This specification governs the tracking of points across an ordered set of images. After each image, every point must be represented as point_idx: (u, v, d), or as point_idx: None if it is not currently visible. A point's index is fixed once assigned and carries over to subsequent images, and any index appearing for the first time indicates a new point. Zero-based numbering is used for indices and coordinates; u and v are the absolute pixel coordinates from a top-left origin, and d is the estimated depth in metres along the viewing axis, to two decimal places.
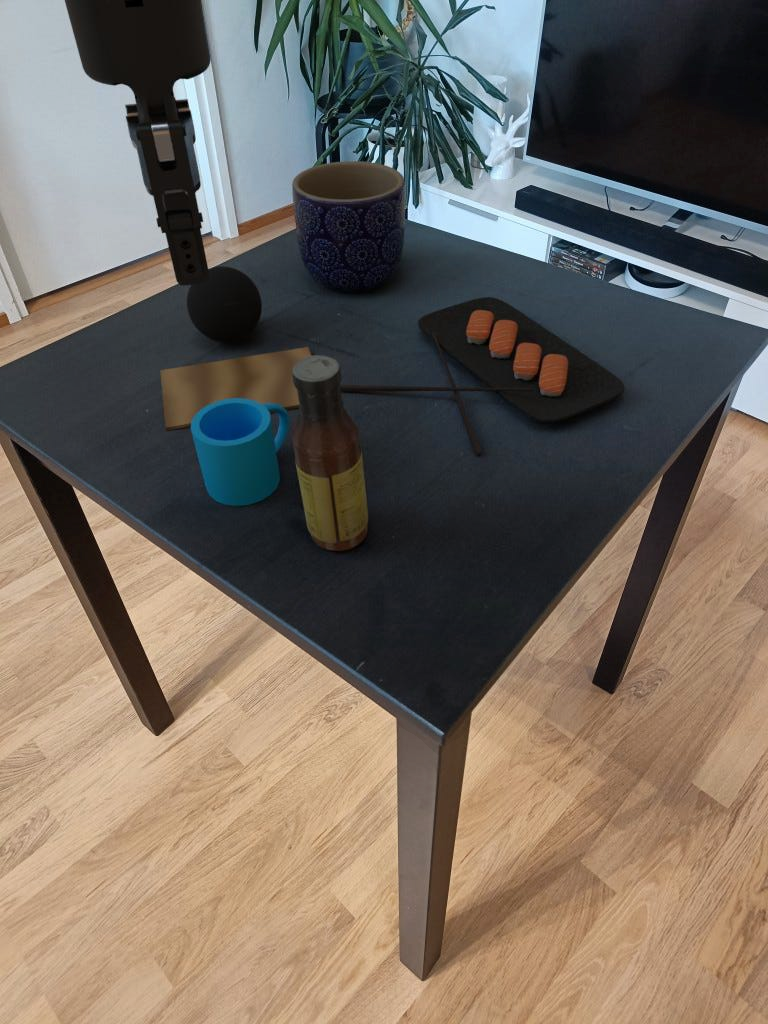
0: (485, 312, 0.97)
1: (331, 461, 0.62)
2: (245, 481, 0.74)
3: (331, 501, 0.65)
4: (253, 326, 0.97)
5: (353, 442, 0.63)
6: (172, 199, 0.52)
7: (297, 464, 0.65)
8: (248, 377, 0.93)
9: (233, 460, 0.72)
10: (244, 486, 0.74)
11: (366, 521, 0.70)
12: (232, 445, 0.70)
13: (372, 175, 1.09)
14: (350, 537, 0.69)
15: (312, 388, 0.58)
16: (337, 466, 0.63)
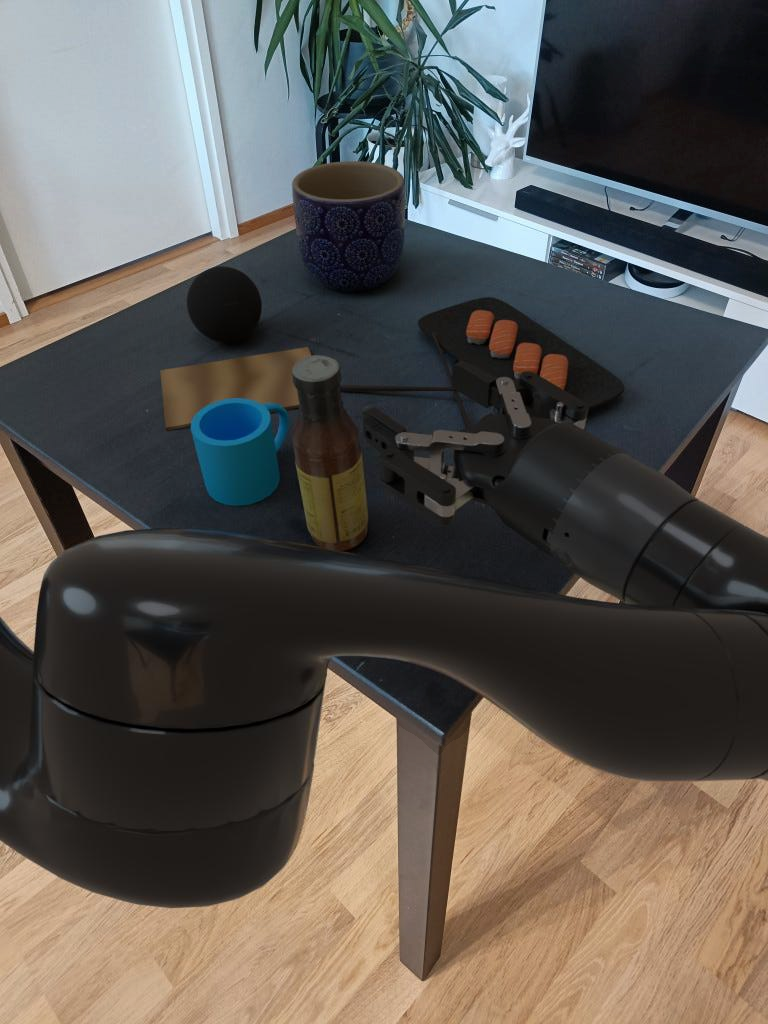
0: (485, 312, 0.97)
1: (331, 461, 0.62)
2: (245, 481, 0.74)
3: (331, 501, 0.65)
4: (253, 326, 0.97)
5: (352, 442, 0.63)
6: (477, 384, 0.51)
7: (297, 464, 0.65)
8: (248, 377, 0.93)
9: (233, 460, 0.72)
10: (244, 486, 0.74)
11: (366, 521, 0.70)
12: (232, 445, 0.70)
13: (372, 175, 1.09)
14: (350, 537, 0.69)
15: (312, 388, 0.58)
16: (337, 466, 0.63)
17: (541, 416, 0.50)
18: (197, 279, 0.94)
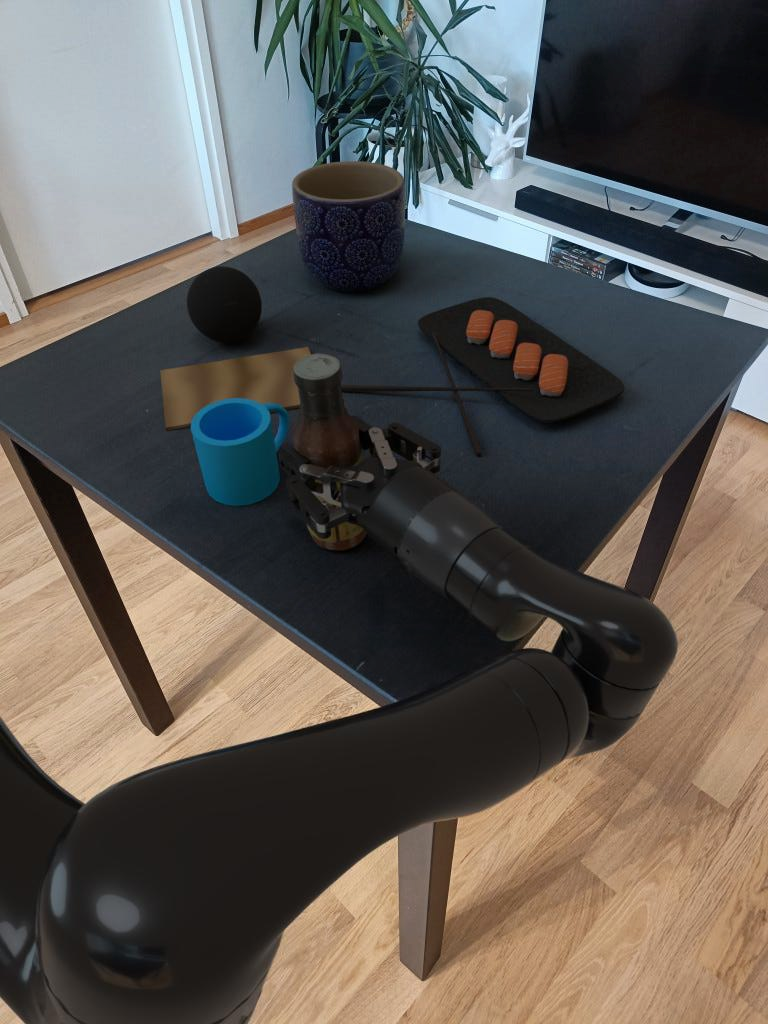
0: (485, 312, 0.97)
1: (332, 459, 0.62)
2: (245, 481, 0.74)
3: None
4: (253, 326, 0.97)
5: (353, 441, 0.63)
6: None
7: None
8: (248, 377, 0.93)
9: (233, 460, 0.72)
10: (244, 486, 0.74)
11: None
12: (232, 445, 0.70)
13: (372, 175, 1.09)
14: (350, 537, 0.69)
15: (313, 386, 0.58)
16: (337, 464, 0.63)
17: (407, 456, 0.65)
18: (197, 279, 0.94)
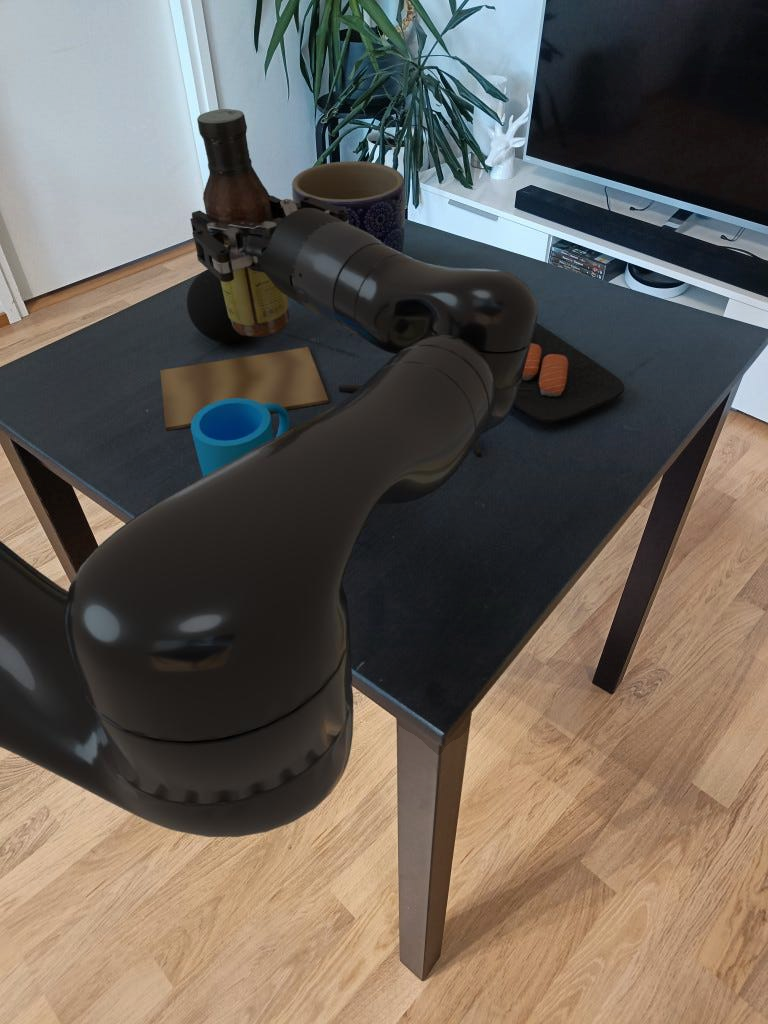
0: None
1: None
2: None
3: (245, 271, 0.67)
4: None
5: (262, 203, 0.64)
6: None
7: None
8: (248, 377, 0.93)
9: None
10: None
11: (285, 307, 0.72)
12: (232, 445, 0.70)
13: (372, 175, 1.09)
14: (268, 319, 0.71)
15: (215, 131, 0.59)
16: None
17: None
18: (197, 279, 0.94)
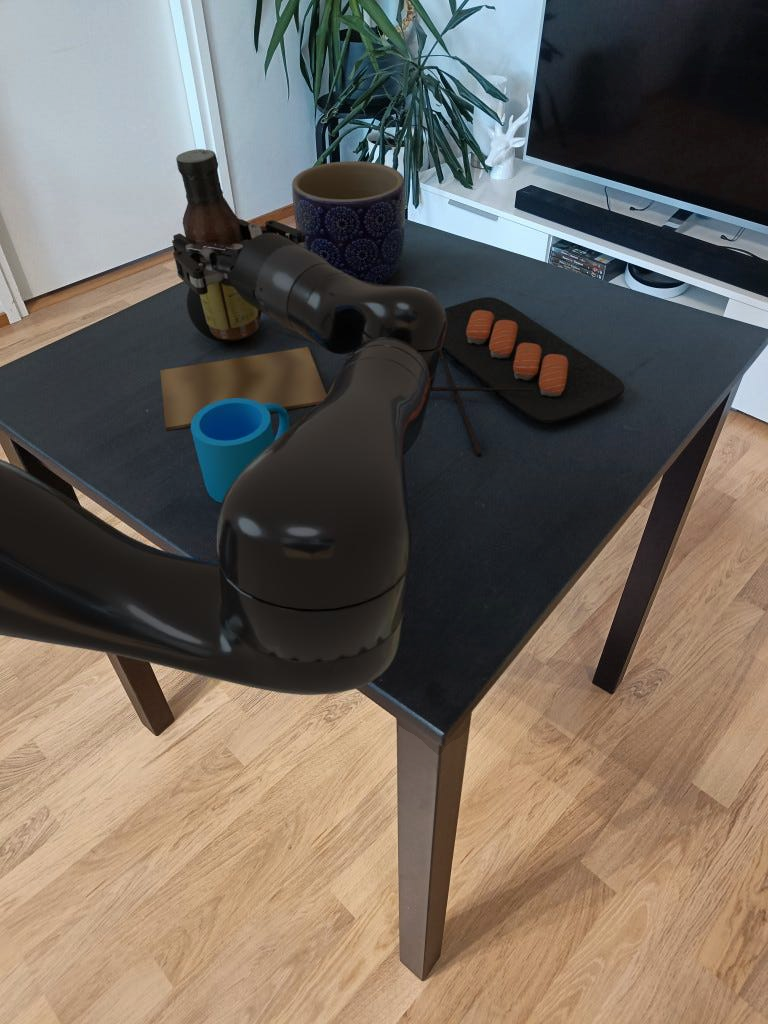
0: (485, 312, 0.97)
1: (214, 241, 0.76)
2: None
3: (219, 284, 0.79)
4: None
5: (232, 227, 0.76)
6: None
7: None
8: (248, 377, 0.93)
9: (233, 460, 0.72)
10: None
11: (255, 314, 0.84)
12: (232, 445, 0.70)
13: (372, 175, 1.09)
14: (240, 325, 0.83)
15: (191, 168, 0.71)
16: None
17: None
18: None
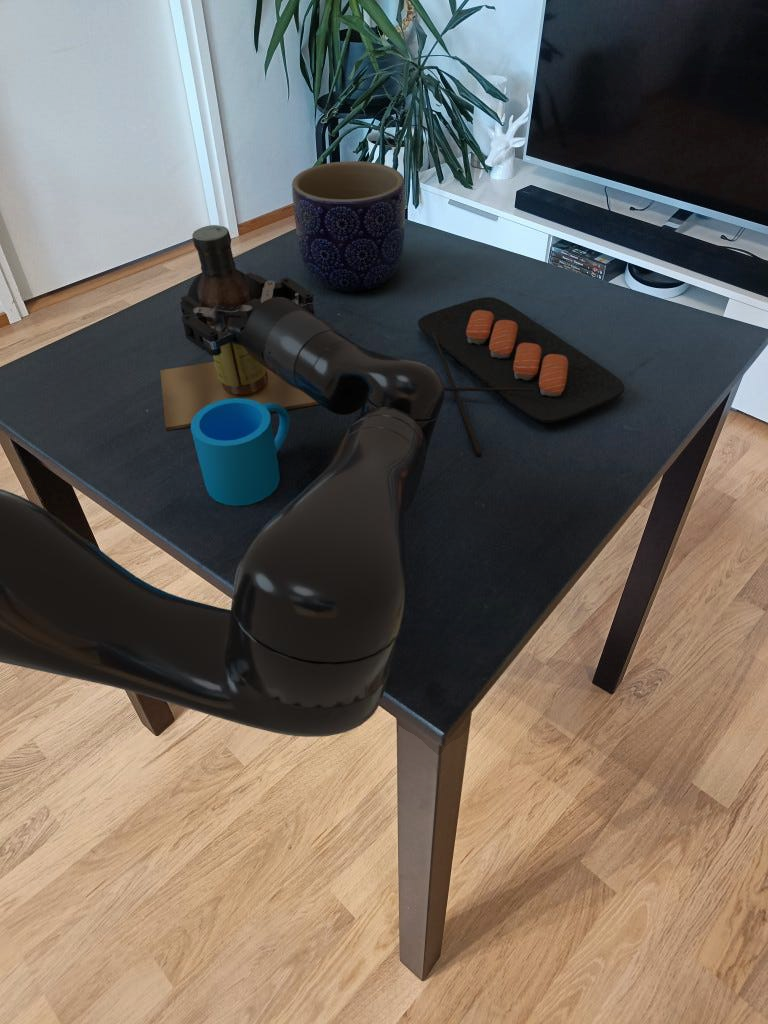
0: (485, 312, 0.97)
1: None
2: (245, 481, 0.74)
3: (230, 347, 0.84)
4: None
5: (244, 296, 0.81)
6: (256, 286, 0.84)
7: None
8: None
9: (233, 460, 0.72)
10: (244, 486, 0.74)
11: (264, 371, 0.89)
12: (232, 445, 0.70)
13: (372, 175, 1.09)
14: (250, 382, 0.88)
15: (206, 246, 0.77)
16: None
17: None
18: (197, 279, 0.94)
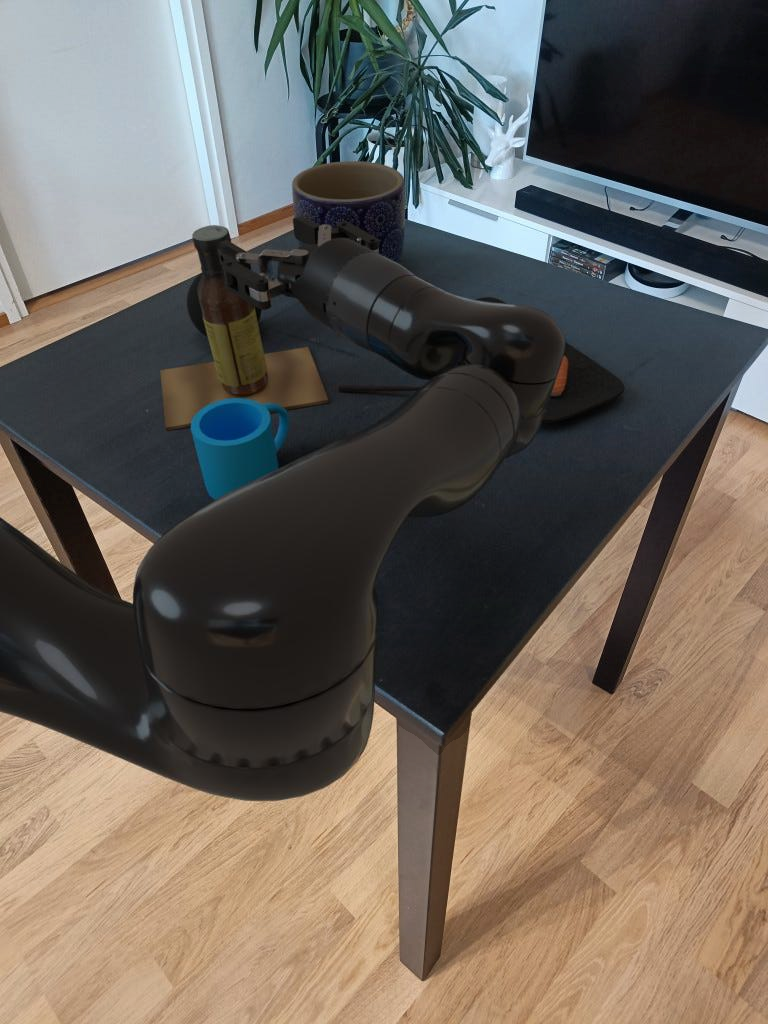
0: None
1: (226, 310, 0.81)
2: (245, 481, 0.74)
3: (230, 347, 0.84)
4: None
5: None
6: (308, 231, 0.70)
7: (203, 316, 0.83)
8: None
9: (233, 460, 0.72)
10: None
11: (264, 371, 0.89)
12: (232, 445, 0.70)
13: (372, 175, 1.09)
14: (250, 382, 0.88)
15: (206, 246, 0.77)
16: (232, 315, 0.81)
17: None
18: (197, 279, 0.94)
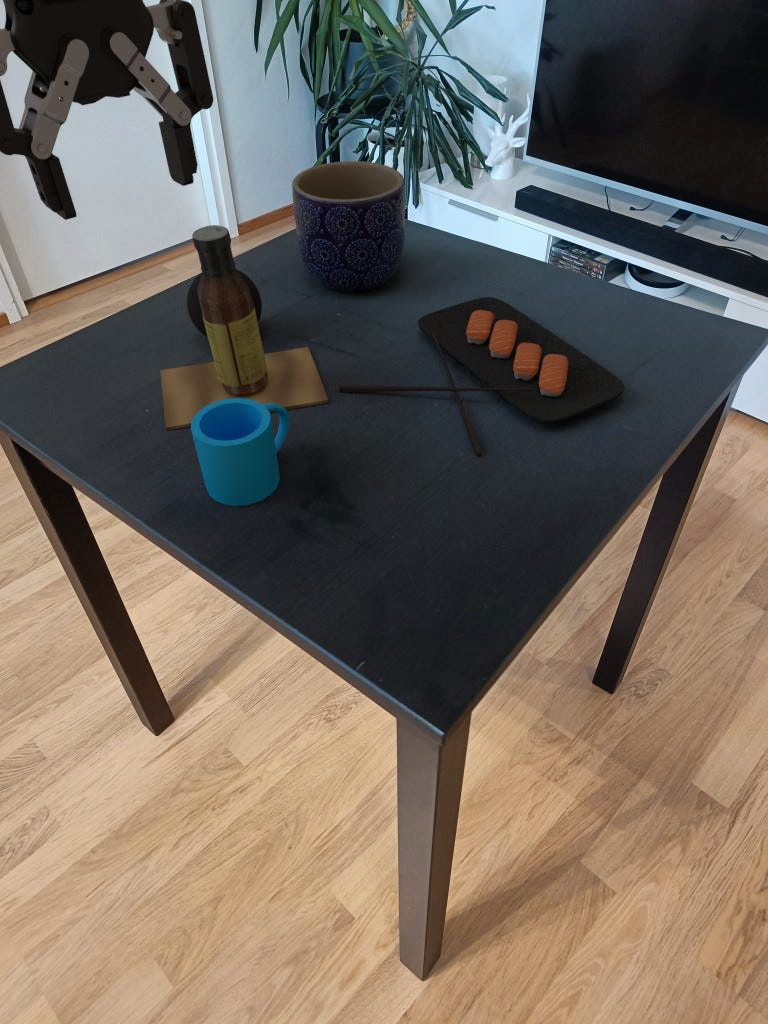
0: (485, 312, 0.97)
1: (226, 310, 0.81)
2: (245, 481, 0.74)
3: (230, 347, 0.84)
4: None
5: (244, 296, 0.81)
6: (167, 142, 0.48)
7: (203, 316, 0.83)
8: None
9: (233, 460, 0.72)
10: (244, 486, 0.74)
11: (264, 371, 0.89)
12: (232, 445, 0.70)
13: (372, 175, 1.09)
14: (250, 382, 0.88)
15: (206, 246, 0.77)
16: (232, 315, 0.81)
17: (185, 62, 0.45)
18: (197, 279, 0.94)
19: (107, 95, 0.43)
